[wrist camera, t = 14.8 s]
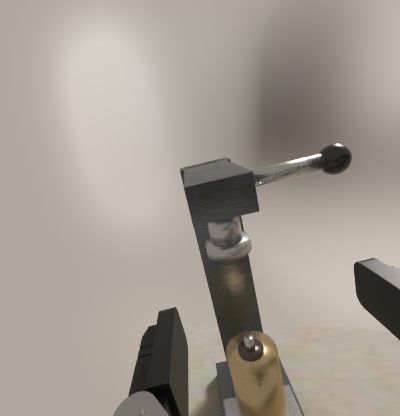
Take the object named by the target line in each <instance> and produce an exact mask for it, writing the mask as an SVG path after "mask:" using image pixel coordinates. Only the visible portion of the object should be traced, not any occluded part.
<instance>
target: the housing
mask: <svg viewBox="0 0 400 416" xmlns="http://www.w3.org/2000/svg"><path fill="white" fill-rule="evenodd" d="M226 357H227V361H228V365H229V369H230V374H231V378H232V382H233V386H234V390H235V394H236V399H237V403H238V407H239V411H240V415H241V416H288V411H287V405H286V399H285V393H284V387H283V381H282V375H281V369H280V364H279V358H278V352H277V347H276V344H275V342H274V341H273V340H272V339H271V338H270V337H269V336H268V335H266V334H264V333H262V332H259V331H244V332H241V333H239V334H237V335H235V336H234V337H233V338H232V339H231V340H230V341H229V343H228V345H227V348H226Z"/></svg>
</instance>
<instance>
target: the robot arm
mask: <svg viewBox="0 0 400 416" xmlns="http://www.w3.org/2000/svg"><path fill="white" fill-rule="evenodd" d="M354 274H355V285H356V294H357V297H358V300H359V302H360V303H361V305H362V306H363V307H364V308H365V309H366V310H367V311H368V312H369V313H370V314H371V315H373V316H374V317H375V318H376V319H377V320H378V321H379V322H380V323H381V324H383V325H384V326H385V327H386V328H387V329H388V330H389V331H390V332H391V333H392V334H394V335H395V336H396V337H397V338H398V339H399V340H400V269H399V268H396V267H393V266H391V267H389V266H388V265H386V264H384V263H383V262H381V261H379V260H377V259H375V258H371V259H368V260H364V261H360V262H356V263H355V264H354ZM113 416H188V346H187V340H186V336H185V332H184V329H183V326H182V323H181V320H180V317H179V313H178V310H177V308H176V307H174V308H170V309H166V310H163V311H159V314H158V319H157V325H153V326H149V327H148V329H147V331H146V332H145V334H144V335H143V337H142V341H141V345H140V350H139V353H138V359H137V362H136V366H135V370H134V375H133V379H132V383H131V387H130V392H129V396H128V398H126V399H125V400H124V401H123V402H122V403H121V404H120V405H119V407H118V408H117V410H116V411H115V413H114V415H113Z"/></svg>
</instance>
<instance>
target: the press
mask: <svg viewBox="0 0 400 416" xmlns="http://www.w3.org/2000/svg"><path fill="white" fill-rule="evenodd" d="M351 160H352V155H351V152H350V150H349V149H348V148H347V147H346V146H344V145H341V144H331V145H328V146H326V147H325V148H323V149H322V150H321V151H320V153H319V154H317V155H313V156H308V157H304V158H300V159H296V160H291V161H287V162H283V163H278V164H274V165H270V166H265V167H261V168H257V169H253V170H248V169H246V168H243V167H241V166H239V165H236V164H234V163H232V162H231V160H230V159H228V158H222V159H218V160H214V161H210V162H205V163H201V164H197V165H193V166H188V167H184V168H181V169H180V172H181V177H182V180H183V185H184V190H185V194H186V198H187V202H188V206H189V210H190V214H191V218H192V223H193V226H194V229H195V233H196V237H197V242H198V245H199V250H200V254H201V258H202V262H203V265H204V270H205V274H206V278H207V282H208V286H209V290H210V294H211V298H212V302H213V306H214V311H215V315H216V319H217V323H218V327H219V331H220V335H221V339H222V343H223V347H224V351H225V355H226V348H227V345H228V343H229V341H230V340H231V339H232V338H233V337H234V336H235V335H237V334H239V333H241V332H244V331H259V332H262V333H263V331H262V325H261V320H260V315H259V310H258V304H257V299H256V293H255V288H254V283H253V278H252V272H251V267H250V262H249V256H248V253H249V252H250V251H251V249H252V246H251V240H250V236H249V234H248V233H246V232H244V229H243V224H242V219H241V215H245V214H249V213H253V212H258V211H259V207H258V201H257V194H256V188H255V187H256V186H260V185H264V184H269V183H273V182H278V181H282V180H286V179H290V178H295V177H299V176H303V175H308V174H312V173H316V172H320V171H322V172H324V173H326V174H329V175H330V174H331V175H336V174H340V173H342V172H344V171H345V170H346V169H347V168H348V167H349V166H350V164H351ZM278 358H279V357H278ZM226 359H227V357H226ZM279 364H280V369H281V375H282V381H283V387H284V393H285V399H286V405H287V411H288V416H304V414H303V411H302V409H301V407H300V405H299V402H298V400H297V398H296V395H295V393H294V391H293V389H292V386H291V384H290V382H289V379H288V377H287V375H286V373H285V370H284V368H283V366H282V363H281V361H280V359H279ZM216 369H217V376H218V383H219V390H220V397H221V404H222V411H223V416H241V415H240V411H239V407H238V403H237V399H236V394H235V390H234V386H233V382H232V378H231V374H230V369H229V365H228V361H224V362H220V363H216Z"/></svg>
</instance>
